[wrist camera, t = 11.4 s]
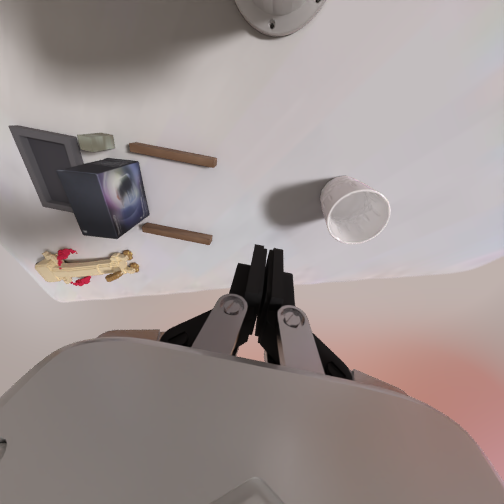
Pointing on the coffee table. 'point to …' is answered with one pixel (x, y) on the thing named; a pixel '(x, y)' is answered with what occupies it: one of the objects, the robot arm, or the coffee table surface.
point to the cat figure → (83, 267)
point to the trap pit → (47, 162)
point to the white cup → (353, 210)
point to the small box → (105, 196)
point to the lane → (107, 142)
